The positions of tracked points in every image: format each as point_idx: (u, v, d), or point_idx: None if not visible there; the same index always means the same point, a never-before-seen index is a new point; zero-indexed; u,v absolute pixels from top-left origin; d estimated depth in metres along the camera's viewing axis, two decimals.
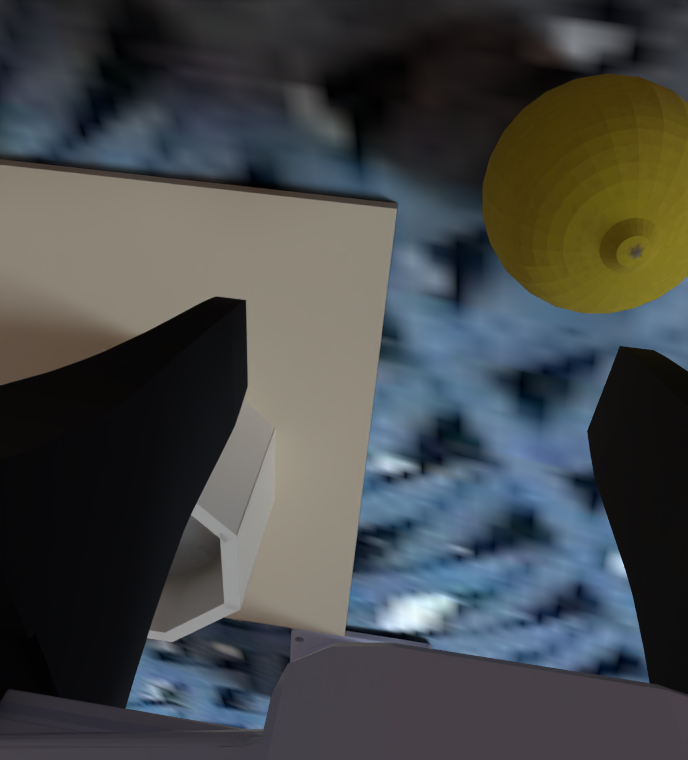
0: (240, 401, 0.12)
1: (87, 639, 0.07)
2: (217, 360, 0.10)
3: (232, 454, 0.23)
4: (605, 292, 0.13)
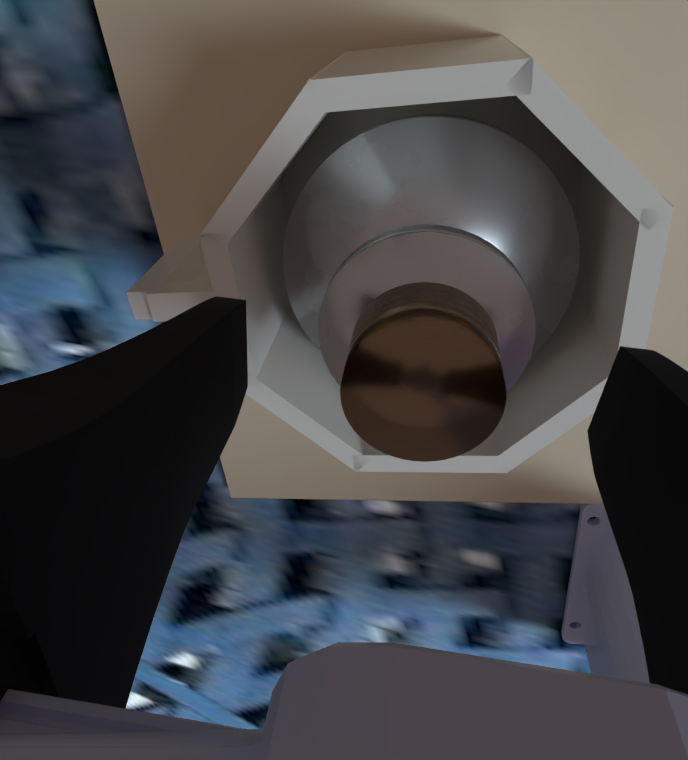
0: (240, 401, 0.12)
1: (87, 639, 0.07)
2: (217, 360, 0.10)
3: None
4: None
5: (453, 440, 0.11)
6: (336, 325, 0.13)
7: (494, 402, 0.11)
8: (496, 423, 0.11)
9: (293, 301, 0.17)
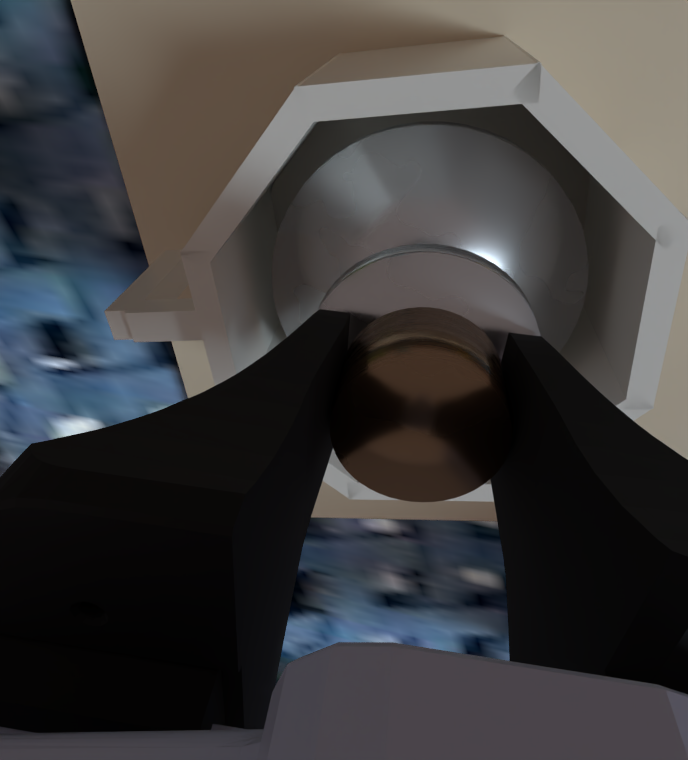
0: None
1: (259, 667, 0.07)
2: (334, 375, 0.10)
3: None
4: None
5: (453, 480, 0.10)
6: None
7: (498, 441, 0.10)
8: (500, 463, 0.10)
9: (283, 319, 0.16)
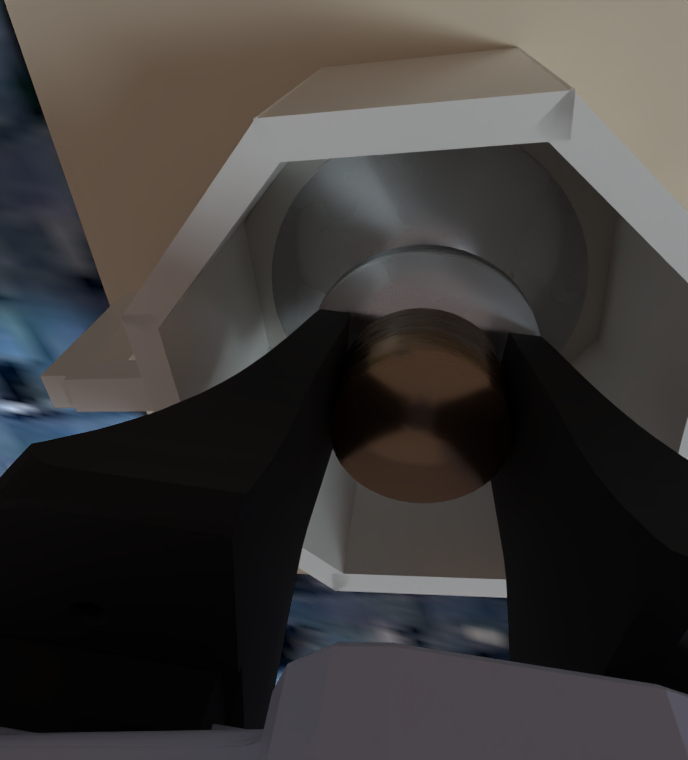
0: None
1: (259, 667, 0.07)
2: (333, 375, 0.10)
3: None
4: None
5: (454, 481, 0.10)
6: None
7: (499, 442, 0.10)
8: (501, 464, 0.10)
9: (283, 320, 0.16)
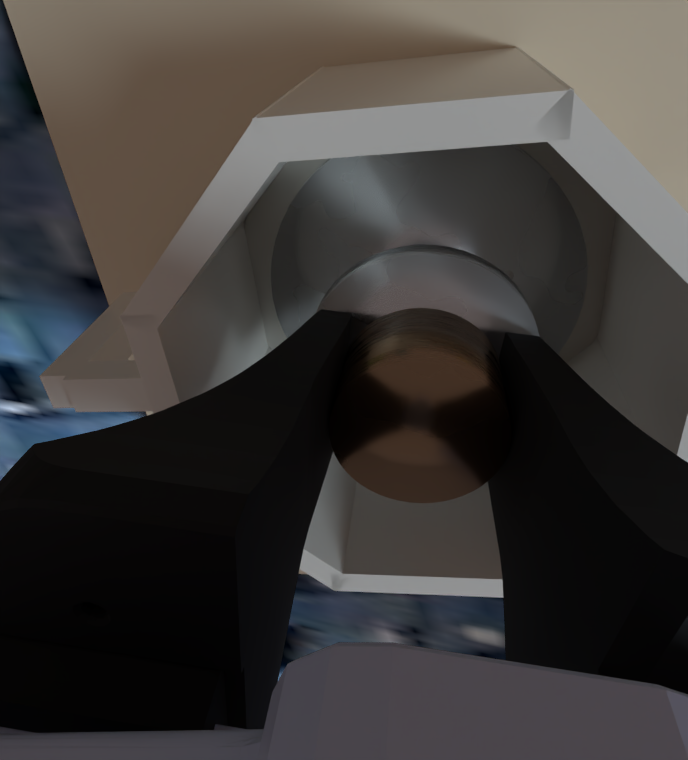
0: None
1: (261, 668, 0.07)
2: (335, 375, 0.10)
3: None
4: None
5: (453, 481, 0.10)
6: None
7: (498, 442, 0.10)
8: (500, 464, 0.10)
9: (283, 320, 0.16)
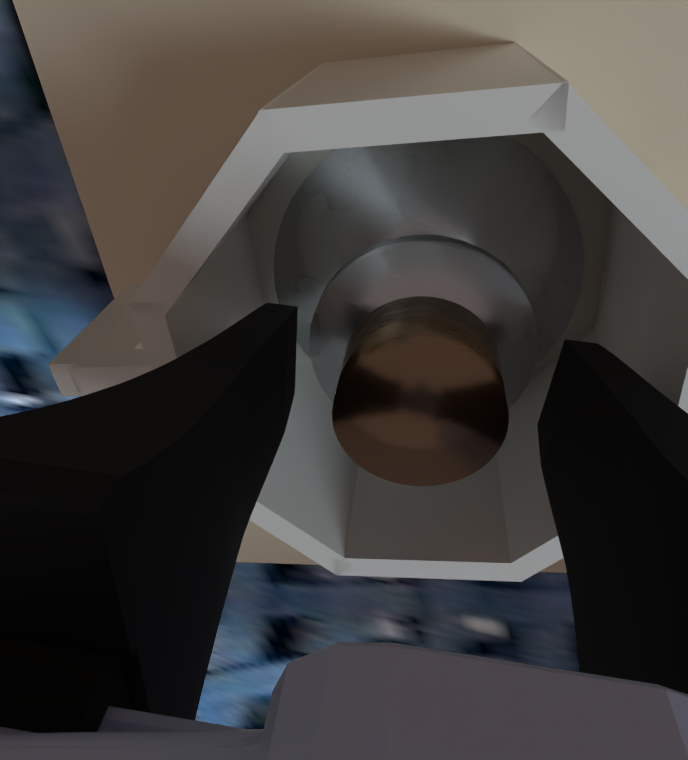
0: (289, 407, 0.12)
1: (172, 653, 0.07)
2: (275, 367, 0.10)
3: None
4: None
5: (452, 464, 0.11)
6: (329, 340, 0.12)
7: (496, 425, 0.10)
8: (498, 447, 0.10)
9: None
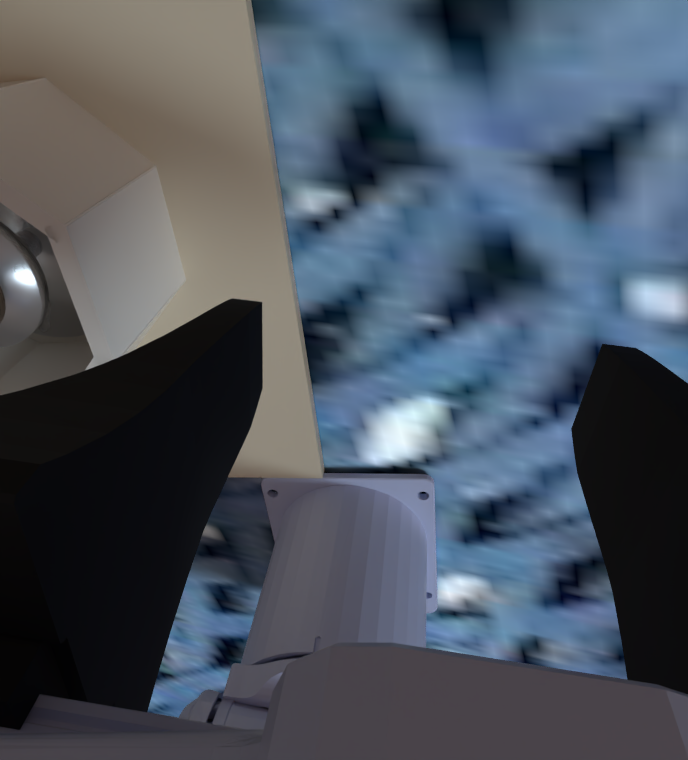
0: (255, 403, 0.12)
1: (114, 643, 0.07)
2: (235, 362, 0.10)
3: (76, 160, 0.17)
4: None
5: None
6: None
7: None
8: None
9: None
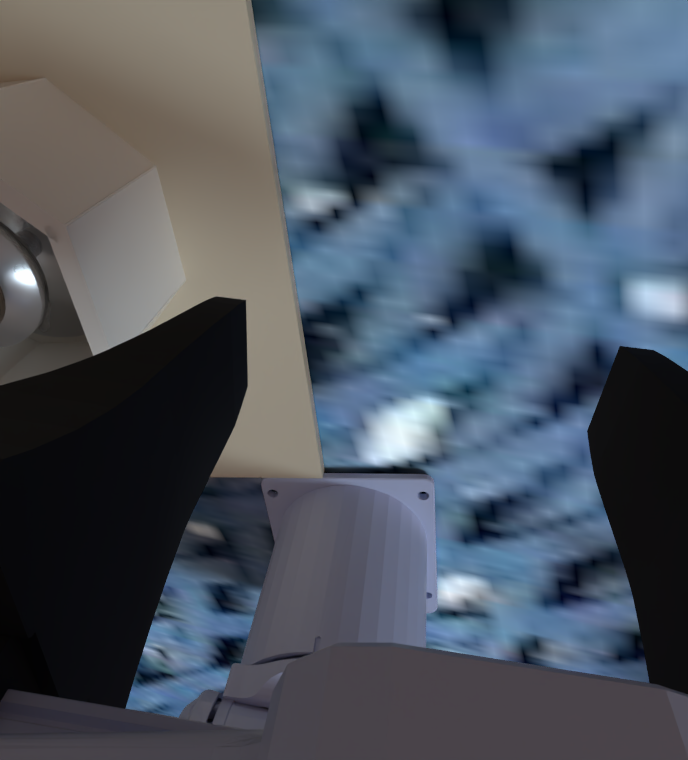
0: (240, 401, 0.12)
1: (87, 639, 0.07)
2: (217, 360, 0.10)
3: (76, 160, 0.17)
4: None
5: None
6: None
7: None
8: None
9: None
